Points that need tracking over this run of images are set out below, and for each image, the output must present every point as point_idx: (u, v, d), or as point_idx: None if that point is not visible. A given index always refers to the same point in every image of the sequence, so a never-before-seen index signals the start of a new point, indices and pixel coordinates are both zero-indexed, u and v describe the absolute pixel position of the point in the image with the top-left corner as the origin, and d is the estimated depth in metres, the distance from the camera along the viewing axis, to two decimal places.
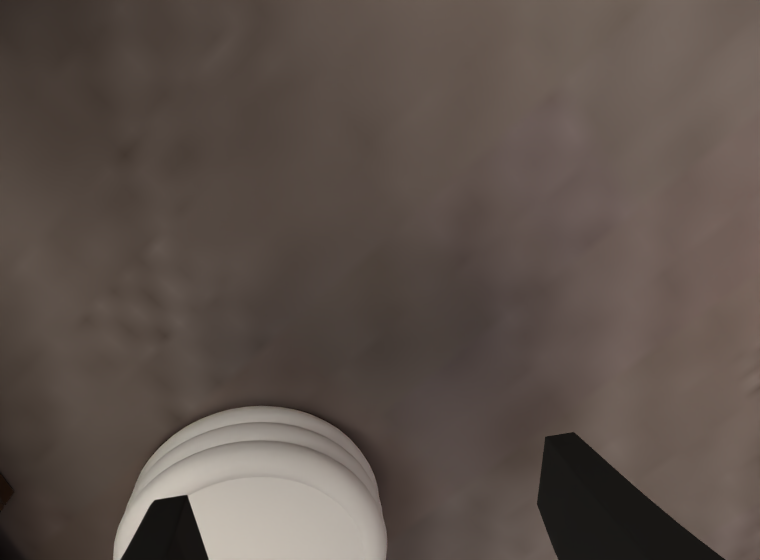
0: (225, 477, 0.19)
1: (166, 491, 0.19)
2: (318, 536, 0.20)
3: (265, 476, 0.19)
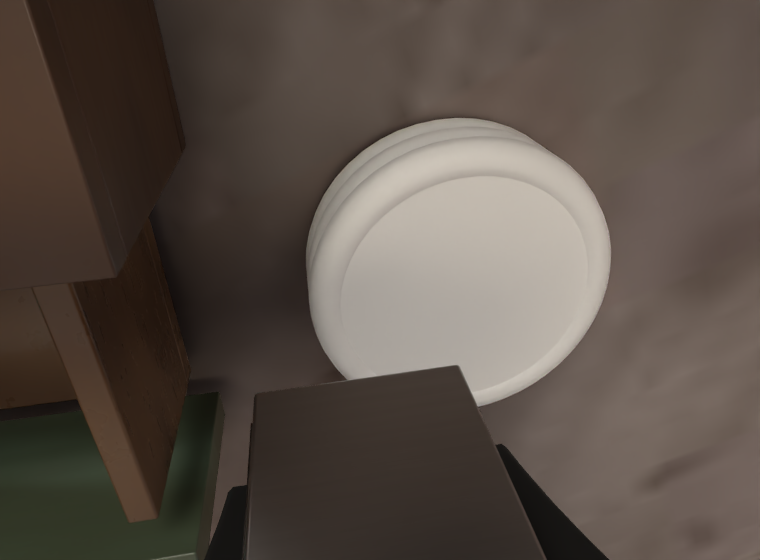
0: (495, 171, 0.16)
1: (429, 165, 0.15)
2: (545, 280, 0.18)
3: (535, 185, 0.16)
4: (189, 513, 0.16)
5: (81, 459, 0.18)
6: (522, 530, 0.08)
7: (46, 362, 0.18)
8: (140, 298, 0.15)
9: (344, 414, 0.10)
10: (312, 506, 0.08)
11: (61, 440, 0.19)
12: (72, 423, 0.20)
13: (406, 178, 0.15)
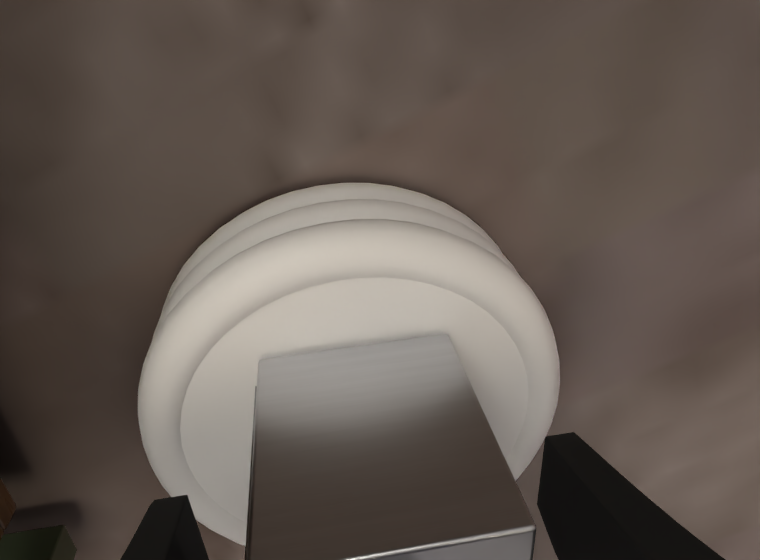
0: (382, 270, 0.11)
1: (282, 267, 0.11)
2: None
3: (443, 286, 0.11)
4: None
5: None
6: (500, 471, 0.09)
7: None
8: None
9: (340, 376, 0.11)
10: (312, 453, 0.09)
11: None
12: None
13: (250, 285, 0.11)
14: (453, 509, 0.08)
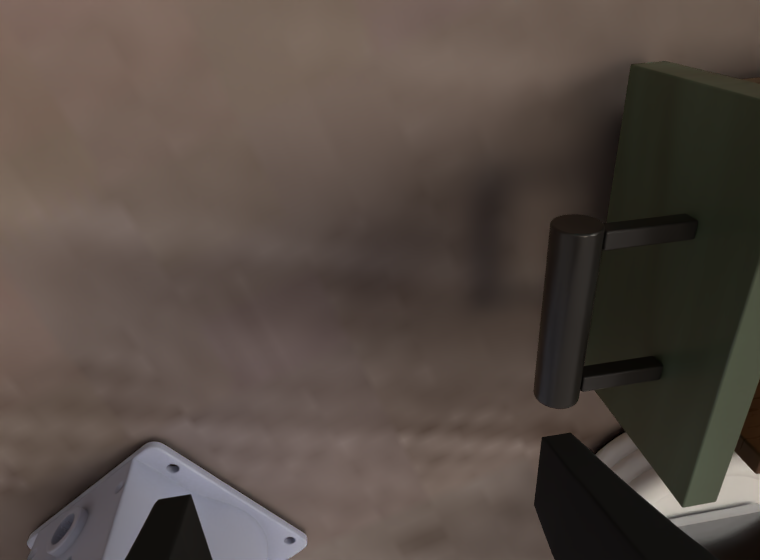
0: None
1: None
2: None
3: None
4: None
5: None
6: None
7: None
8: None
9: None
10: None
11: None
12: None
13: None
14: None
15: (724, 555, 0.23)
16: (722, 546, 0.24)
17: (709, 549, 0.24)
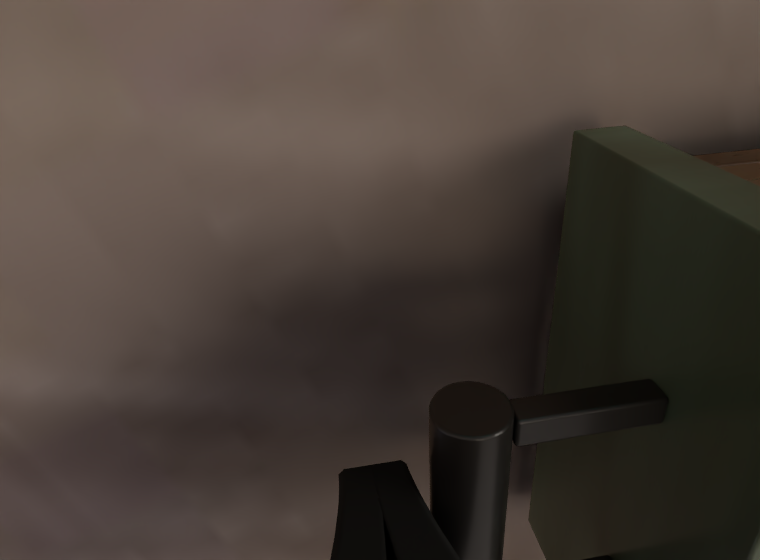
0: None
1: None
2: None
3: None
4: None
5: None
6: None
7: None
8: None
9: None
10: None
11: None
12: None
13: None
14: None
15: None
16: None
17: None
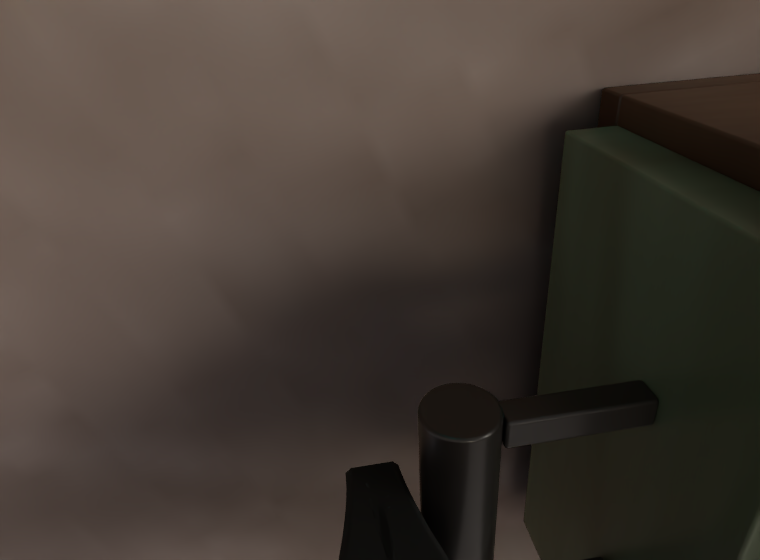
0: None
1: None
2: None
3: None
4: None
5: None
6: None
7: None
8: None
9: None
10: None
11: None
12: None
13: None
14: None
15: None
16: None
17: None
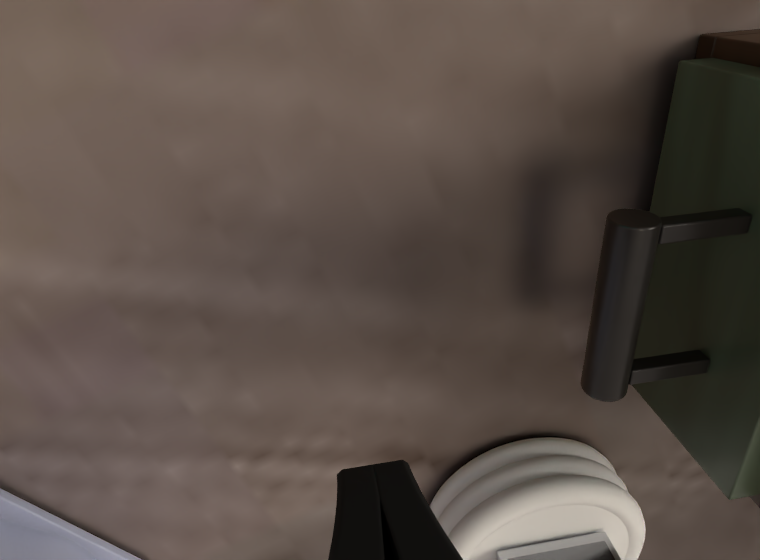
0: (626, 558, 0.26)
1: (642, 532, 0.25)
2: None
3: None
4: None
5: None
6: None
7: None
8: None
9: None
10: None
11: None
12: None
13: (638, 524, 0.25)
14: None
15: None
16: None
17: None
